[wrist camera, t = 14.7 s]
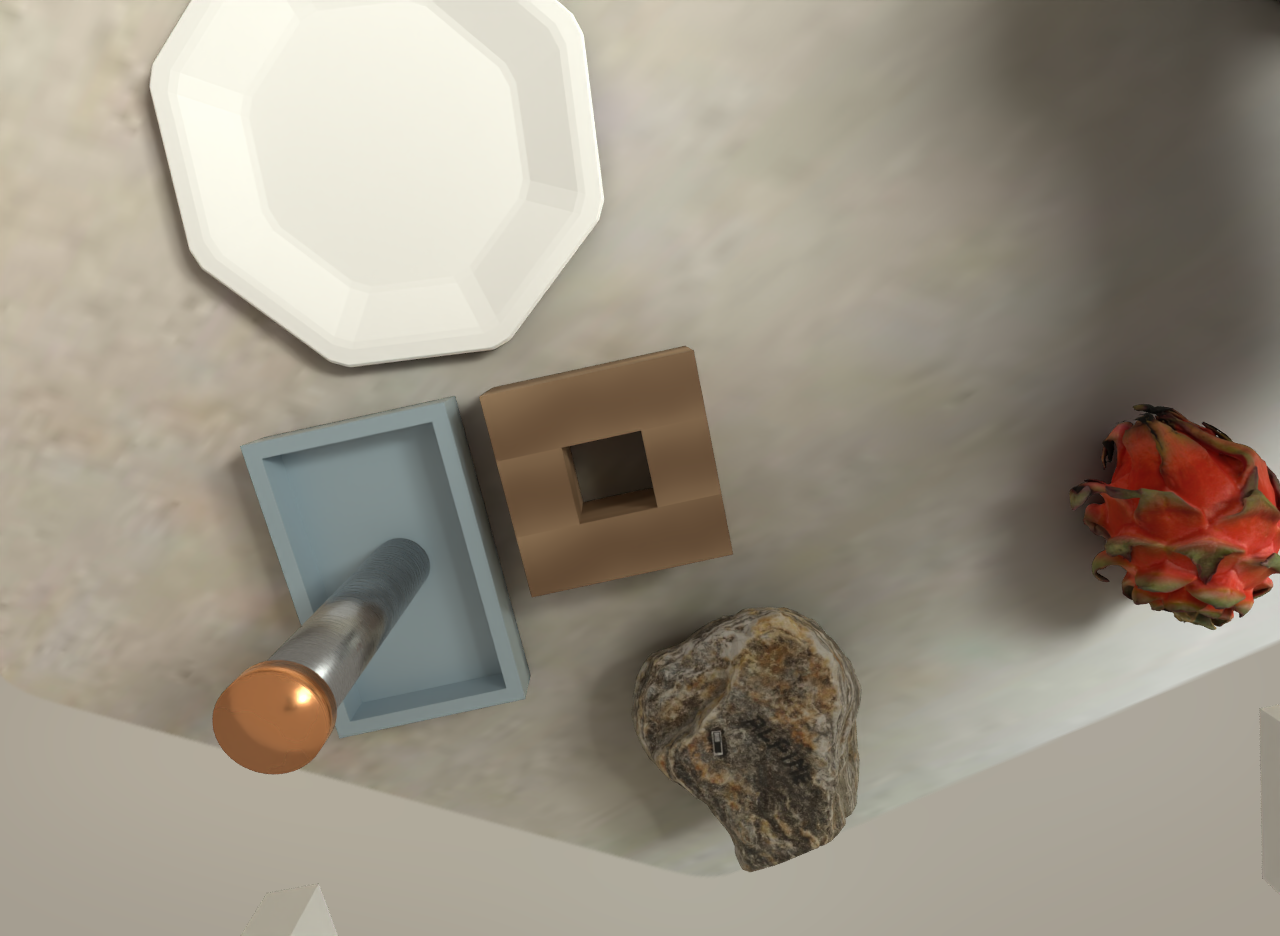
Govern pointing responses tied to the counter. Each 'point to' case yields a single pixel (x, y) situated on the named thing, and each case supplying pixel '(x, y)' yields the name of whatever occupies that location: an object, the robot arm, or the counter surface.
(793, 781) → the stone
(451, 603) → the tray
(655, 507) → the block
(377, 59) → the plate
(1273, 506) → the dragon fruit
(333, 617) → the lock pin
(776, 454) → the counter surface
